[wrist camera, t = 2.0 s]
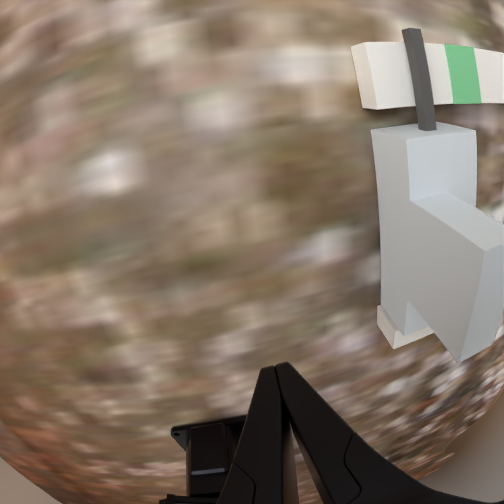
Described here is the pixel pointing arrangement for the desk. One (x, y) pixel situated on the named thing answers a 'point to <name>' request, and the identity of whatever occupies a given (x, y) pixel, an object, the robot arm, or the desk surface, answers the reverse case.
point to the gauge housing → (444, 92)
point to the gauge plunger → (436, 226)
